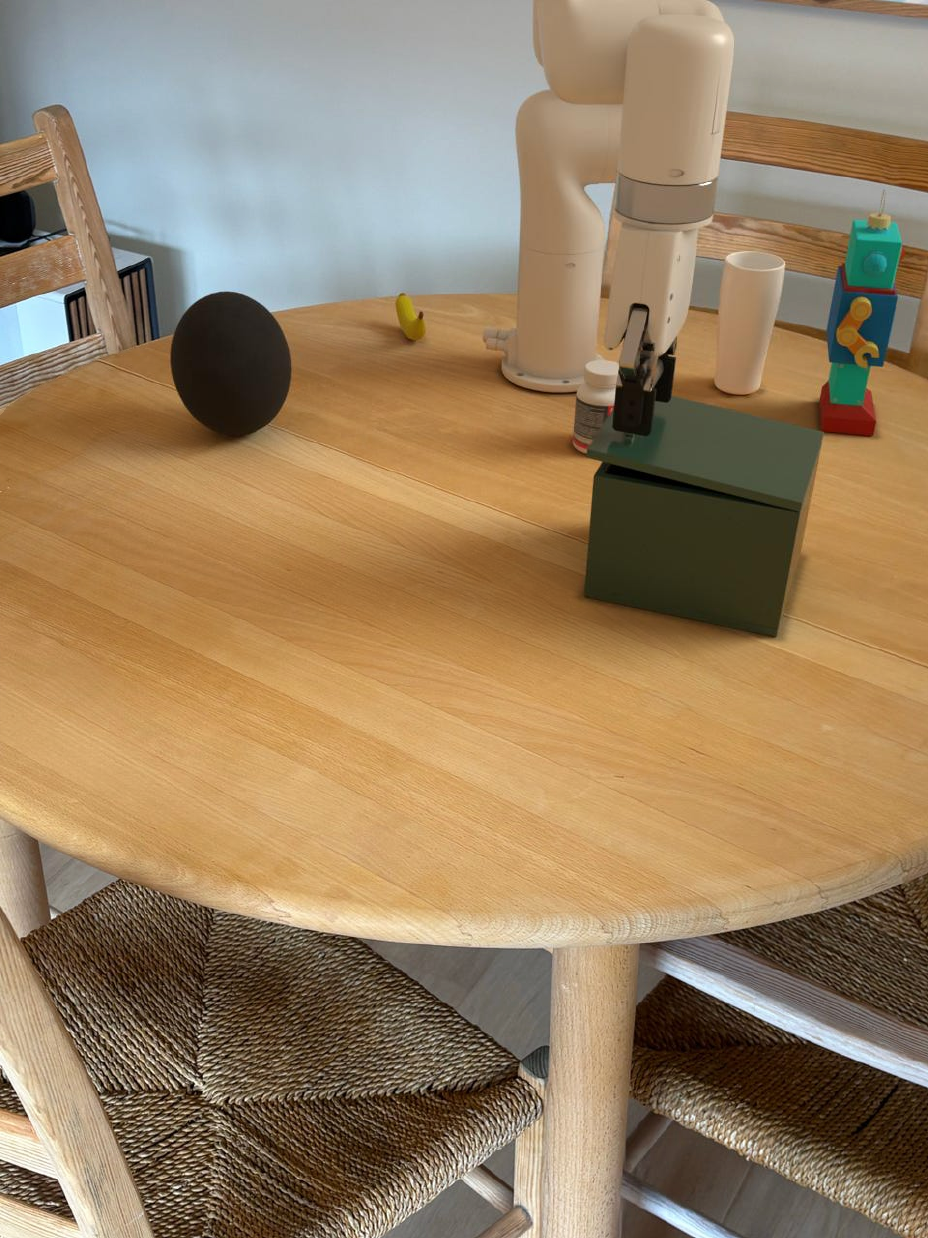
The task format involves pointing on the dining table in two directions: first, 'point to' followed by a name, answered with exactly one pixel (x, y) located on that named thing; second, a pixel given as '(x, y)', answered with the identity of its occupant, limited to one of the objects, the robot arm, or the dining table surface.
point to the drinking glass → (746, 318)
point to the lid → (717, 450)
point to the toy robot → (860, 323)
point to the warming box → (692, 550)
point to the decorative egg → (230, 363)
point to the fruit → (409, 318)
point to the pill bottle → (594, 401)
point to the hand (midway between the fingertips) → (642, 413)
